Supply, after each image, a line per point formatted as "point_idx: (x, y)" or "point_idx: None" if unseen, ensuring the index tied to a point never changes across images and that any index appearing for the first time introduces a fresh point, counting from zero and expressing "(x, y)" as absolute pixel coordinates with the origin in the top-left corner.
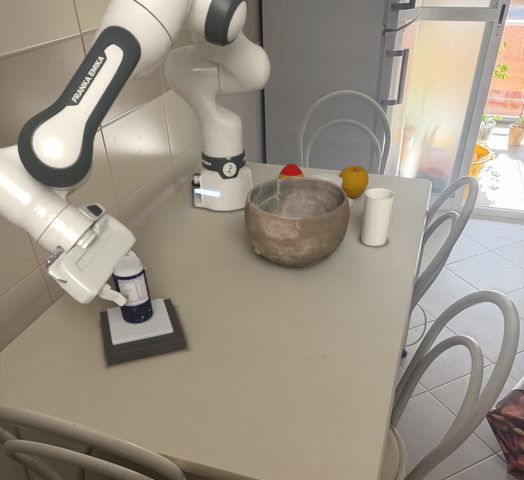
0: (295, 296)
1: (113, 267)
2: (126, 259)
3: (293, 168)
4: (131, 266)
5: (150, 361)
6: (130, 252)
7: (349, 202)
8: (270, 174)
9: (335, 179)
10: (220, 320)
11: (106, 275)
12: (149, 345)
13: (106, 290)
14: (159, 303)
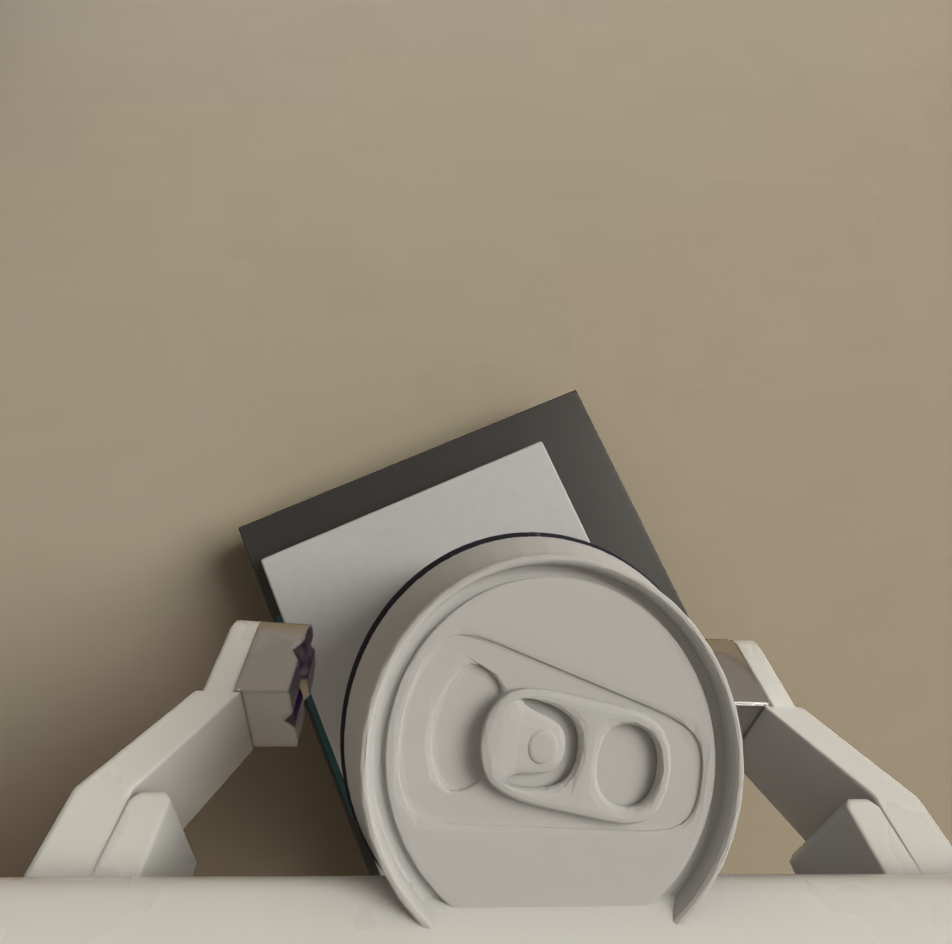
0: (170, 17)
1: (693, 907)
2: (433, 797)
3: None
4: (616, 653)
5: (652, 533)
6: (92, 851)
7: None
8: None
9: None
10: (356, 297)
11: (907, 920)
12: (642, 532)
13: (931, 821)
14: (320, 563)
